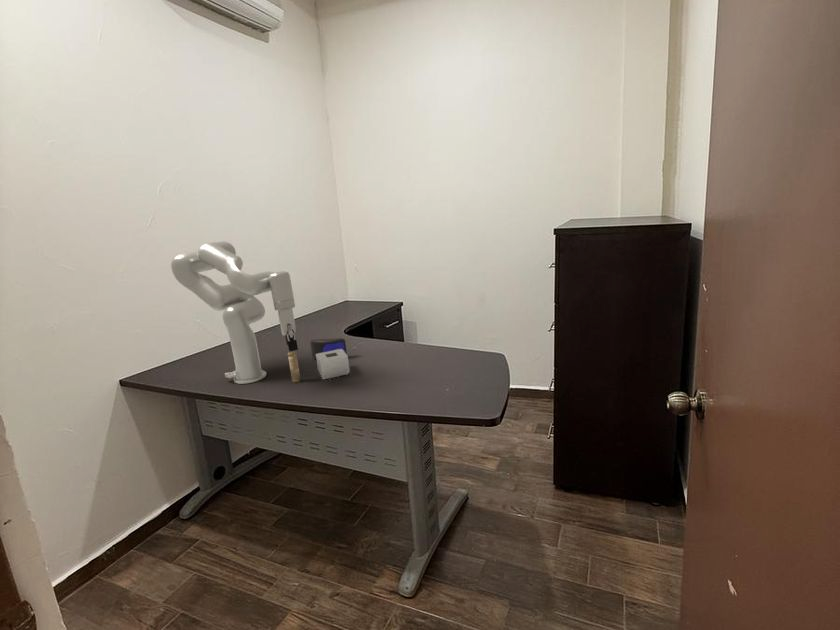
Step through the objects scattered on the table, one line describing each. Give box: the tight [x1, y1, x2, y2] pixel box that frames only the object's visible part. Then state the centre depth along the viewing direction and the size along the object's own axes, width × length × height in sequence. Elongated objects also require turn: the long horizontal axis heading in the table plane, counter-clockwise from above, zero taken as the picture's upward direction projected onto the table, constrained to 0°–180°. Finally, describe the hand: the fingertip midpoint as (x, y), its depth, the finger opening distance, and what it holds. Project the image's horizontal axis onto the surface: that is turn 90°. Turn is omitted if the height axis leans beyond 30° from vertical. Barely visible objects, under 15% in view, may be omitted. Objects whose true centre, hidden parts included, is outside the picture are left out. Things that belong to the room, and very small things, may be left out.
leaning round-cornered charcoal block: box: [309, 337, 348, 361], centre depth 186 cm, size 16×5×9 cm, turn 84°
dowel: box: [287, 351, 301, 383], centre depth 163 cm, size 3×3×12 cm
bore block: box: [316, 349, 351, 380], centre depth 169 cm, size 11×11×8 cm
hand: (292, 347), depth 161 cm, fingers open, 9 cm apart
